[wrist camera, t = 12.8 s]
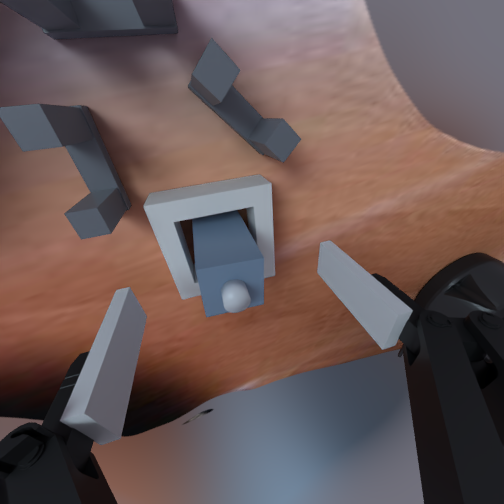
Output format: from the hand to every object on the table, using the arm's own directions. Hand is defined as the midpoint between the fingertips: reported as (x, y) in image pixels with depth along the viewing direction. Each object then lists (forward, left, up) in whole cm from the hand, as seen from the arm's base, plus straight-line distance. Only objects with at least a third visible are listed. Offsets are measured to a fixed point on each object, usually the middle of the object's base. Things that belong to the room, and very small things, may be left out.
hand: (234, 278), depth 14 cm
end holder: (0, 0, -7) cm, 7 cm away
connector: (0, 0, -7) cm, 7 cm away
